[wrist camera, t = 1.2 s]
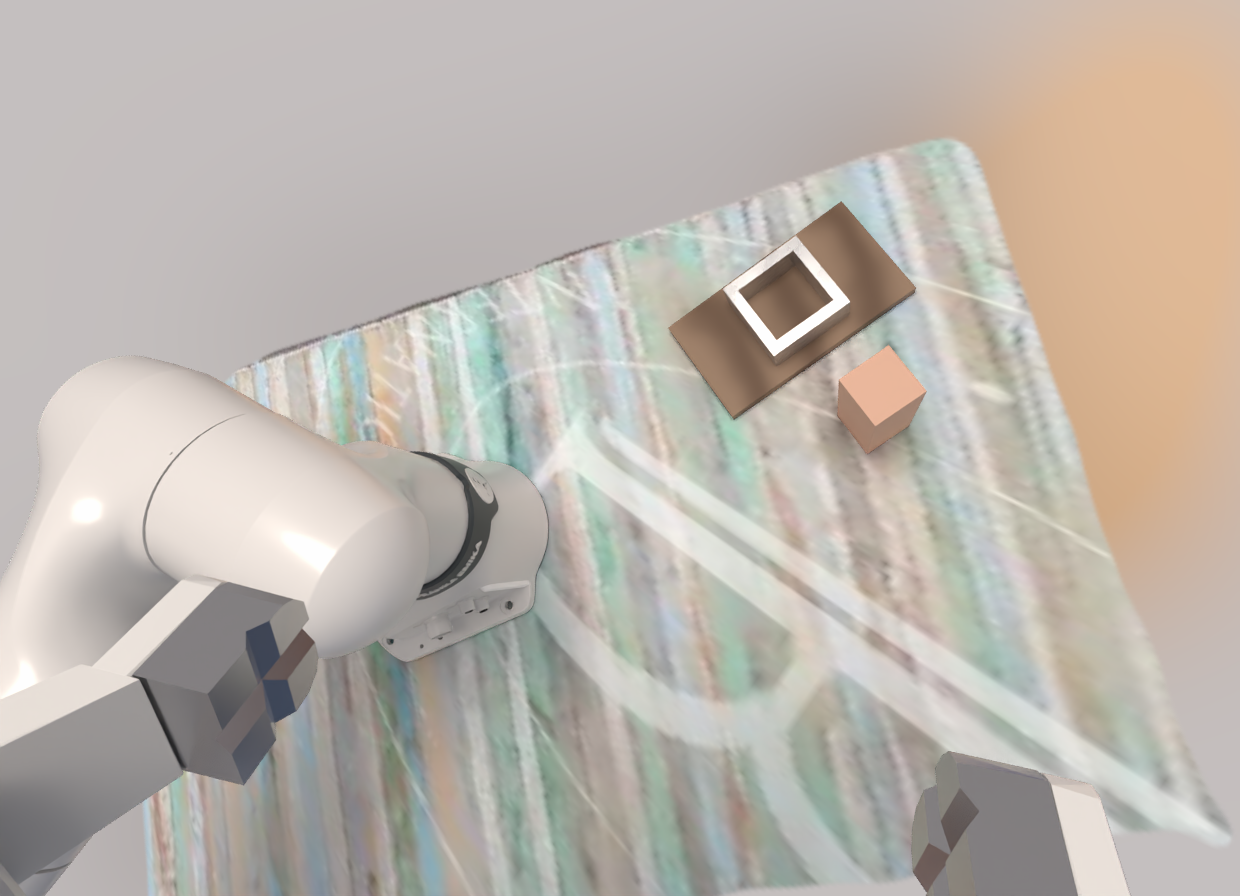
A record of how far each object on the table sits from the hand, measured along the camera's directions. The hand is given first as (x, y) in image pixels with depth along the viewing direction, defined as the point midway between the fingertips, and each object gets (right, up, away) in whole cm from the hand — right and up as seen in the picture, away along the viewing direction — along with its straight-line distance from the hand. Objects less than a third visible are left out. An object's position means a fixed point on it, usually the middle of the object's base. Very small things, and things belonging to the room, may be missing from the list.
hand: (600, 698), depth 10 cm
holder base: (+16, +16, +62) cm, 67 cm away
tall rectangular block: (+23, +6, +59) cm, 63 cm away
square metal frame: (+16, +16, +61) cm, 65 cm away
